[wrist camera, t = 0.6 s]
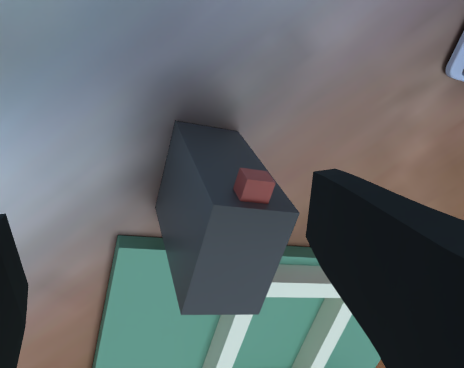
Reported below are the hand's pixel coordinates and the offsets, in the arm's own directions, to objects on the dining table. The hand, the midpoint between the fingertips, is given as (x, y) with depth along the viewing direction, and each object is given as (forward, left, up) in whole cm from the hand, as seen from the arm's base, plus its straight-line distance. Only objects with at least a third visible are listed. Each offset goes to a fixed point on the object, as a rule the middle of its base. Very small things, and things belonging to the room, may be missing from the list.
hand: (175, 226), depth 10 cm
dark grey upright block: (-3, +3, -9) cm, 10 cm away
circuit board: (-10, +15, -9) cm, 20 cm away
